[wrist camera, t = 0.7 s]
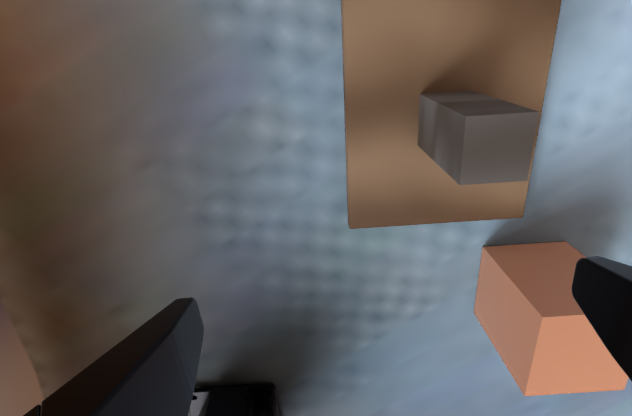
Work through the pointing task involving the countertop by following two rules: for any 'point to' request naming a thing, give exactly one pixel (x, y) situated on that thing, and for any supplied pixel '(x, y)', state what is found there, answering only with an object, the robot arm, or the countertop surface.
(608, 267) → the robot arm
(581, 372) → the salmon orange block
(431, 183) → the stand
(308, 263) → the countertop surface
